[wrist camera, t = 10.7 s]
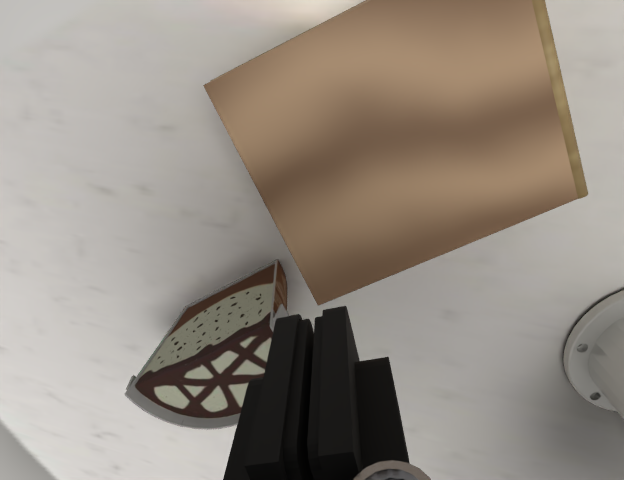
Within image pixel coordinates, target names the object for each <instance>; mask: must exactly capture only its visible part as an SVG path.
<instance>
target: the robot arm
mask: <svg viewBox="0 0 624 480" xmlns="http://www.w3.org/2000/svg"><path fill="white" fill-rule="evenodd" d="M563 362H564V368H565V372H566V375H567V377H568V379H569V381H570V382H571V384H572V385H573V387H574V388H575V389H576V391H577V392H578V393H579V394H580V395H581V396H582V397H583V398H584V399H585V400H587V401H588V402H590V403H592V404H593V405H595V406H598V407H600V408H603V409H606V410H610V411H616V412H618V413H619V414H620V415H621V417H622V418H623V419H624V290H623V291H620V292H618V293H616V294H614V295H611V296H610V297H608V298H606V299H605V300H603V301H602V302H600V303H598V304H597V305H596V306H594V307H593V308H592V309H591V310H590V311H589V312H587V313H586V314H585V315H584V316H583V317H582V318H581V320H580V321H579V322H578V323H577V324H576V326H575V327H574V329H573V331H572V332H571V334H570V336H569V337H568V340H567V343H566V346H565V349H564V359H563ZM223 480H431V479H430V477H429V476H427V475H426V474H425V473H424V472H423V471H422V470H421V469H419V468H417V467H415V466H413V465H411V464H410V463H409V458H408V452H407V447H406V442H405V437H404V432H403V427H402V421H401V416H400V411H399V406H398V401H397V396H396V391H395V386H394V381H393V376H392V371H391V367H390V362H389V357H385V358H378V359H372V360H366V361H359V357H358V352H357V348H356V344H355V340H354V336H353V331H352V327H351V323H350V319H349V315H348V311H347V307H346V306H343V307H337V308H331V309H326V310H323V316H321V317H316V318H315V328H314V332H313V328H312V325H311V322H310V320H309V319H304V320H302V318H301V316H300V315H299V314H298V315H292V316H287V317H281V318H277V319H276V321H275V326H274V330H273V335H272V340H271V345H270V349H269V354H268V359H267V363H266V368H265V373H264V377H260V378H254V379H251V380H250V381H249V383H248V386H247V389H246V393H245V397H244V401H243V405H242V409H241V413H240V417H239V420H238V424H237V428H236V432H235V436H234V440H233V444H232V448H231V452H230V455H229V459H228V463H227V467H226V471H225V475H224V479H223Z"/></svg>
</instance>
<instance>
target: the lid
mask: <svg viewBox="0 0 624 480" xmlns="http://www.w3.org/2000/svg"><path fill="white" fill-rule="evenodd" d="M203 86H204V88H205V89H206V91H207V93H208V95H209V97H210V99H211V101H212V103H213V105H214V107H215V109H216V111H217V112H218V114H219V116H220V118H221V120H222V122H223V124H224V126H225V128H226V130H227V132H228V134H229V136H230V137H231V139H232V141H233V143H234V145H235V147H236V149H237V151H238V153H239V155H240V157H241V159H242V160H243V162H244V164H245V166H246V168H247V170H248V172H249V174H250V176H251V178H252V180H253V182H254V183H255V185H256V187H257V189H258V191H259V193H260V195H261V197H262V199H263V201H264V203H265V205H266V207H267V208H268V210H269V212H270V214H271V216H272V218H273V220H274V222H275V224H276V226H277V228H278V230H279V231H280V233H281V235H282V237H283V239H284V241H285V243H286V245H287V247H288V249H289V251H290V253H291V255H292V256H293V258H294V260H295V262H296V264H297V266H298V268H299V270H300V272H301V274H302V276H303V278H304V279H305V281H306V283H307V285H308V287H309V289H310V291H311V293H312V295H313V297H314V299H315V301H316V302H317V304H318V305H321V304H323V303H326V302H328V301H330V300H333V299H335V298H338V297H340V296H343V295H345V294H347V293H350V292H352V291H355V290H357V289H360V288H362V287H364V286H367V285H369V284H372V283H374V282H377V281H379V280H381V279H384V278H386V277H389V276H391V275H394V274H396V273H398V272H401V271H403V270H406V269H408V268H411V267H413V266H415V265H418V264H420V263H423V262H425V261H428V260H430V259H432V258H435V257H437V256H440V255H442V254H445V253H447V252H449V251H452V250H454V249H457V248H459V247H462V246H464V245H466V244H469V243H471V242H474V241H476V240H479V239H481V238H483V237H486V236H488V235H491V234H493V233H496V232H498V231H501V230H503V229H505V228H508V227H510V226H513V225H515V224H518V223H520V222H522V221H525V220H527V219H530V218H532V217H535V216H537V215H539V214H542V213H544V212H547V211H549V210H552V209H554V208H556V207H559V206H561V205H564V204H566V203H569V202H571V201H573V200H576V199H579V198H583V197H585V196H587V195H588V191H587V186H586V182H585V177H584V173H583V169H582V164H581V160H580V155H579V151H578V146H577V142H576V137H575V133H574V128H573V124H572V119H571V115H570V111H569V106H568V102H567V97H566V93H565V88H564V84H563V79H562V75H561V70H560V66H559V62H558V57H557V53H556V48H555V44H554V39H553V35H552V30H551V26H550V21H549V17H548V13H547V8H546V4H545V0H370V1H368V2H366V3H364V4H362V5H360V6H358V7H356V8H354V9H352V10H350V11H348V12H346V13H344V14H342V15H341V16H339V17H337V18H335V19H333V20H331V21H329V22H327V23H325V24H323V25H321V26H319V27H317V28H315V29H313V30H311V31H309V32H307V33H305V34H303V35H301V36H299V37H297V38H295V39H293V40H291V41H289V42H288V43H286V44H284V45H282V46H280V47H278V48H276V49H274V50H272V51H270V52H268V53H266V54H264V55H262V56H260V57H258V58H256V59H254V60H252V61H250V62H248V63H246V64H244V65H242V66H240V67H238V68H236V69H234V70H233V71H231V72H229V73H227V74H225V75H223V76H221V77H219V78H217V79H215V80H213V81H211V82H209V83H207V84H205V85H203Z"/></svg>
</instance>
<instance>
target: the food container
mask: <svg viewBox="0 0 624 480" xmlns="http://www.w3.org/2000/svg"><path fill="white" fill-rule="evenodd" d="M287 316H289V315H288V313H287V281H286V276H285V273H284V270H283V268H282V266H281V264H280V262H279V261H278V259H277V260H275V261H273V262H271V263H269V264H268V265H266V266H264V267H262V268H260V269H258V270H256V271H254V272H252V273H250V274H248V275H246V276H244V277H242V278H240V279H238V280H236V281H234V282H232V283H230V284H229V285H227V286H225V287H223V288H221V289H219V290H217V291H215V292H213V293H211V294H209V295H207V296H205V297H203V298H201V299H199V300H197V301H195V302H193V303H192V304H190V305H188V306H186V307H185V308H184V310H183V311H182V313H181V314H180V316H179V317H178V318H177V320H176V321H175V323H174V324H173V326H172V327H171V328H170V330H169V331H168V333H167V334H166V335H165V337H164V338H163V340H162V341H161V343H160V344H159V345H158V347H157V348H156V350H155V351H154V353H153V354H152V355H151V357H150V358H149V360H148V361H147V363H146V364H145V365H144V367H143V368H142V370H141V371H140V373H139V374H138V375H137V377H135V376H134V375H133V376H132V377H131V379H130V382H129V384H128V386H127V388H126V390H127V391H126V393H125V396H126V397H127V398H129V399H130V400H131V401H132V402H133V403H134V404H135V405H137V406H138V407H139V408H141V409H142V410H143V411H145V412H147V413H149V414H150V415H152V416H154V417H156V418H158V419H160V420H163V421H165V422H168V423H171V424H174V425H178V426H181V427H187V428H193V429H221V428H226V427H231V426H234V425H237V424H238V420H239V417H240V413H241V409H242V405H243V401H244V397H245V393H246V389H247V386H248V383H249V381H250V380H251V379H254V378H260V377H264V373H265V368H266V363H267V359H268V354H269V349H270V345H271V340H272V335H273V330H274V326H275V321H276V319H277V318H281V317H287Z"/></svg>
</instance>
